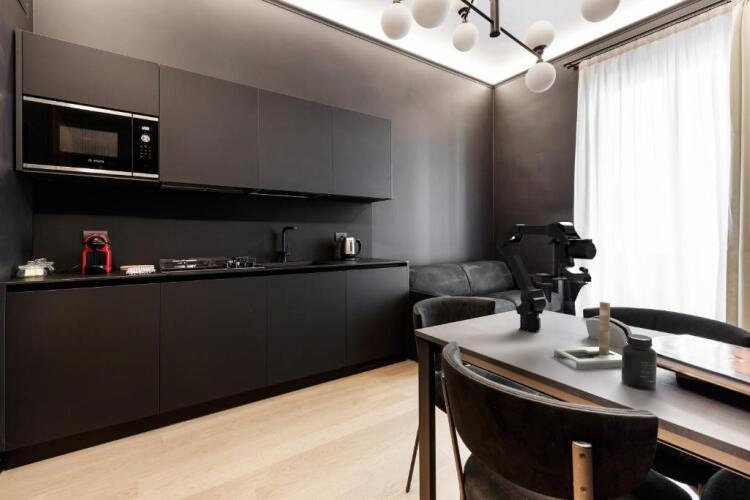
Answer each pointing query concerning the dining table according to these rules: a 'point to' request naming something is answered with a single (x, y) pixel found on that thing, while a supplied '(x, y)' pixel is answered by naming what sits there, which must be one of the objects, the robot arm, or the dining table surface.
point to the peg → (604, 329)
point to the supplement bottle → (639, 363)
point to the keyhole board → (592, 363)
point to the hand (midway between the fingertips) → (561, 302)
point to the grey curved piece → (616, 331)
